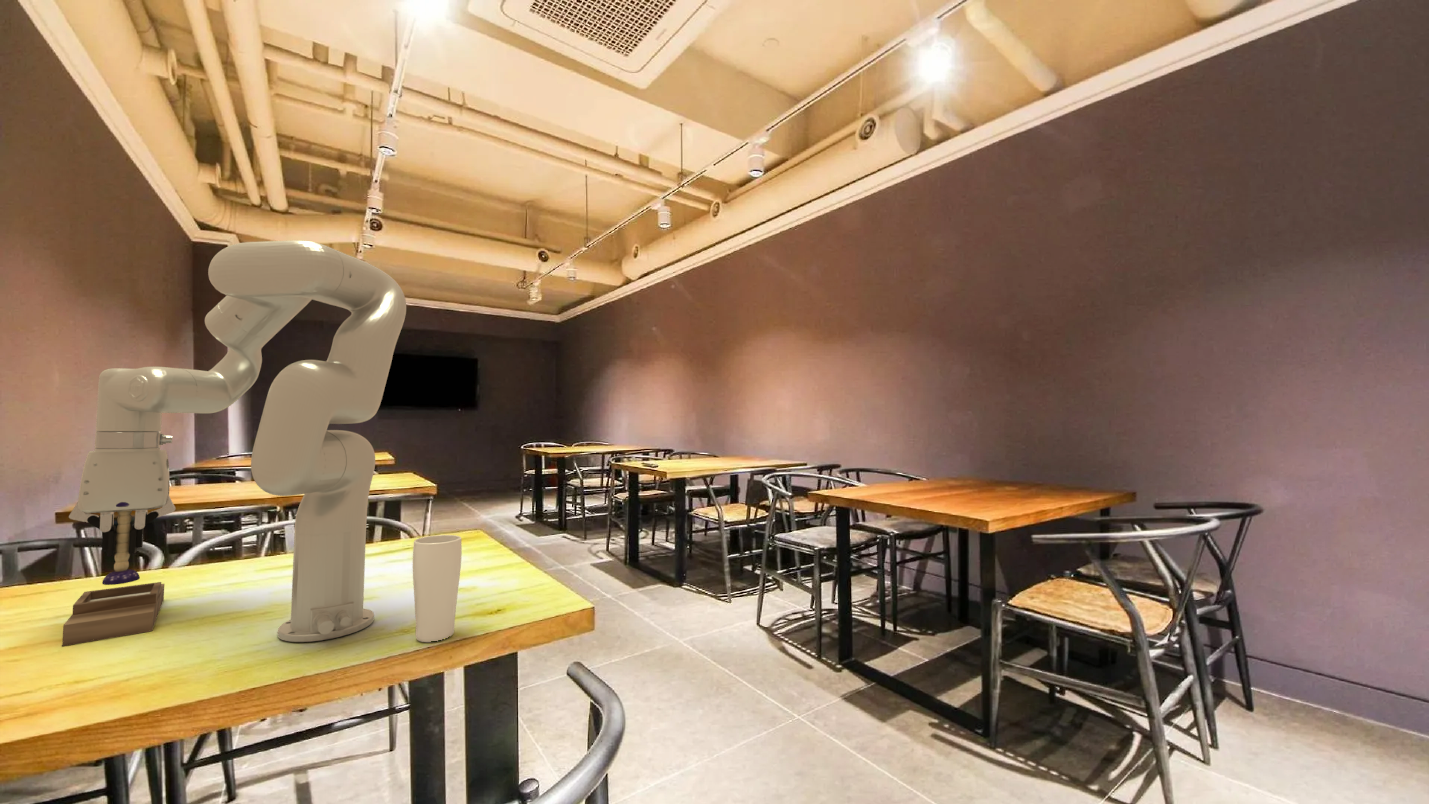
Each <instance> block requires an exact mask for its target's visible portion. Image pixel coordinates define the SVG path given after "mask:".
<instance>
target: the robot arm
mask: <svg viewBox="0 0 1429 804" xmlns="http://www.w3.org/2000/svg"><path fill="white" fill-rule="evenodd" d="M207 271H208V272H207V273H208V274H207V275H208V279H209V281H210V283H211V285H212V286H213V287H214V289H215V290H216V291H218V292H219V293H220V294H223V295H225V297H223V298H222V299H221V300H220V301H219V302H218V303H217V304H216V305H215V306H214V307H213V308H212V309H211V310H209V312H207V314H206V315H205V317H204V324H205V325H204V326H205V327H206V329H207V330H208V331H209V333H210V334H211V335H212V337H214V338H215V339H216V340H217V341H218V342H220V343H221V344H223V345H224V346H225V347H227V348H228V350H227V353H226V354H225V355H224V357H223V358H222V359H221V360H220V361H219V362H217V363H216V364H215V365H214V366H213V367H212V368H211V369H209V370H208V371H207V370H199V369H192V368H191V369H190V368H180V367H167V366H166V367H165V366H143V367H139V368H129V367H128V368H124V367H120V368H119V367H117V368H114V367H112V368H108V369H105V370H102V372H100V374H99V377H98V384H97V385H98V386H97V387H98V389H97V402H96V404H97V405H96V418H95V419H96V420H95V432H94V433H95V434H94V435H95V436H94V450H92V451H91V450H90V451H88V453H87V455H86V458H85V461H84V464H83V468H82V473H81V478H80V483H79V484H80V485H79V489H78V499H77V503H76V504H75V506H74V507H73V509H72V510H71V512H70V513H69V515H68V518H69V519H70V520H73V521H78V522H83V523H85V522H86V523H88V524H90V525H92V526H93V527H95V528H97V529H98V530H99V531H100V532H102V544H101V551H102V552H107V553H106V557H113V556H115V554H116V551H115V546H116V544H117V542H116V536H117V534H118V533H117V530H116V528H117V525H114V523H115V522H114V520H115V519H114V518H115V513H117V512H121V511H132V512H133V511H135V514H134V515H135V516H134V524H132V525H131V530H130V536H129V554H130V555H135V554H136V553H137V552H138V549H139V548H143V543H144V528H145V527H147V525H149V524H150V523H152V522H153V521H154V520H155V519H157V518H160V517H162V516H166V515H169V514H171V513H174V512H175V511H176V506H175V504H174V502H173V500H172V498H171V496H170V463H169V455H168V452H167V449H161V446H164V445H167V444H173V435H167V434H164V433H162V421H163V420H162V418H163V413H165V414H178V413H180V414H213V413H218V412H221V411H223V410H225V409H227V408H229V407H231V406H232V405H233V404H234V403H236V402H237V401H238V400H239V399H240V398H241V397H242V396H244V394H246V392H247V391H249V389H251V388H252V386H253V385H254V384H255V383H256V381H257V380H258V378H259V375H260V371H261V369H262V363H263V357H262V355H263V354H262V349H263V347H264V346H265V345H266V344H267V343H268V342H269V341H270V340H271V339H273V338H274V337H275V336H276V334H278V333H279V332H280V331H281V330H282V329H283V328H284V327H285V326H286V325H287V324H288V323H290V322H291V320H293V319H294V317H295V316H297V315H298V314H299V313H300V312H301V311H302V310H304V308H305V307H306V306H307V305H308V304H309V303H310V302H311V301H312V300H313V301H317V302H320V303H323V304H327V305H330V306H334V307H335V306H336V307H338V308H343V309H345V310H348V311H349V312H350V313H351V314H350V315H349V316H348V317H347V318H346V319H345V320H344V321H343V322H342V323H341V324H340V326H339V327H338V329H337V330H336V332H335V334H334V336H333V339H332V344H331V347H330V351H329V354H328V357H327V360H318V359H305V360H303V359H302V360H298V361H295V362H293V363H290V364H288V365H287V366H286V367H284V368H283V369H282V370H281V371H279V373H278V374H277V375H276V376H275V378H274V379H273V381H272V382H271V384H270V387H269V389H268V392H267V396H266V399H265V403H264V406H263V410H262V414H261V418H260V420H259V421H260V422H259V425H258V429H257V432H256V436H255V440H254V444H253V448H252V453H251V457H250V459H251V460H250V470H251V471H250V472H251V475H252V478H253V480H254V482H255V484H256V486H258V488H260V490H262V491H263V492H266V493H267V494H269V495H274V496H280V497H290V496H299V495H303V496H302V498H301V501H300V502H299V506H298V508H297V511H296V514H295V518H294V519H295V520H294V536H293V558H292V559H293V561H292V579H291V580H292V581H291V583H292V584H291V585H292V586H291V587H292V588H291V606H290V607H291V608H290V609H291V610H290V619H288V620H286V621H284V622H283V623H282V624H281V625H279V626H278V628H277V637H278V638H279V640H282V641H286V642H291V643H309V642H319V641H325V640H332V639H336V638H340V637H344V636H348V635H351V634H354V633H356V632H359V631H362V630H364V629H365V628H368V627H369V626H370V625H372V624H373V622H374V619H375V614H374V612H373V610H371V609H368V608H364V597H365V596H364V595H365V594H364V593H365V569H366V566H365V565H366V543H367V542H366V540H367V539H366V538H367V523H368V521H367V519H368V518H367V517H368V503H369V496H370V489H371V485H372V481H373V476H374V474H375V473H374V472H375V467H376V453H375V450H374V447H373V445H372V443H370V441H369V440H368V439H367V438H366V437H364V436H362V435H361V434H359V433H357V432H355V431H349V430H344V429H343V430H341V429H340V430H339V429H328V427H329V425H330V424H331V425H332V424H333V425H334V424H335V425H342V424H343V425H344V424H345V425H346V424H360V423H361V424H362V423H364V422H367V421H369V420H371V419H372V418H373V417H374V416H375V415H376V414H377V412H378V410H379V408H380V406H381V404H382V403H381V402H382V400H383V396H384V392H385V387H386V384H387V380H388V377H389V372H390V369H391V366H392V360H393V357H394V356H393V355H394V352H395V349H396V345H397V342H398V340H399V336H400V333H401V330H402V329H403V326H404V324H405V323H404V322H405V320H406V319H405V318H406V316H407V315H406V314H407V302H406V296H405V293H404V291H403V289H402V287H401V286H400V285H399V284H398V282H397V281H396V279H394V278H393V277H391V275H389V274H388V273H386V272H385V271H384V270H382V269H381V268H379V267H377V266H375V265H373V264H371V263H368V261H365V260H362V259H359V258H357V257H355V256H352V255H349V254H347V253H345V252H343V251H340V250H337V249H335V248H333V247H330V246H328V245H325V244H322V243H319V242H316V241H312V240H298V239H297V240H296V239H294V240H293V239H292V240H275V241H273V240H272V241H268V240H266V241H246V242H240V243H234V244H231V245H229V246H227V247H224V248H223V249H221V250H219V251H218V252H217V253H216V254H215V255H214V256H213V258H212V259H211V261H210V263H209V266H208V270H207ZM120 502H126V503H128V504H129V506H126V507H116V505H117V504H118V503H120ZM148 510H152V511H150V512H149V513H148ZM98 514H100V515H98Z"/></svg>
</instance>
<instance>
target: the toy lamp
mask: <svg viewBox="0 0 1429 804" xmlns="http://www.w3.org/2000/svg"><path fill="white" fill-rule="evenodd" d="M126 506H129V504H128V503H126V502H120V503H118V504H117V505H116V507H126ZM132 512H133V511H121V512H116V513H117V518H116V522H117V525H116V528H115V529H116V530H117V533H118V534H117V536H116V542H117V544H116V546H115V551H116V553H115V554H114V561H115V562H114V564H113V570H114V571H112V572H109V573H108V574H107V575H105V576H104V578H103V579H102V585H105V586H114V585H122V584H123V585H124V584H128V583H132V582H136V581H138V580H140V574H139V572H137V571H136V570H134V569H131V568H130V569H129V567H130V562H129V559H130V556H131V554H129V536H130V530H131V529H132V525H131V522H132V519H133V517H132V515H131V514H132Z"/></svg>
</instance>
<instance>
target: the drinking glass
mask: <svg viewBox="0 0 1429 804" xmlns="http://www.w3.org/2000/svg"><path fill="white" fill-rule="evenodd" d="M412 548H413V549H412V582H413V583H412V584H413V597H414V615H415V616H414V618H415V638H416V640H417V641H419V642H421V643H432V642H431V641H437V642H439V641H438V640H441V641H443V640H442V639H444V638H447V639H449V638H450V637H452V636H453V635H454V633H455V627H456V625H455V622H456V621H455V619H456V613H457V600H458V593H459V585H460V578H461V567H462V555H463V553H462V537H461V536H460V535H456V534H455V535H454V534H439V535H438V534H437V535H436V534H435V535H428V536H423V537H419V538H417V539H414V541H413V547H412ZM449 636H450V637H449ZM448 637H449V638H448ZM444 640H445V639H444Z"/></svg>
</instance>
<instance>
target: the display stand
mask: <svg viewBox="0 0 1429 804" xmlns="http://www.w3.org/2000/svg"><path fill="white" fill-rule="evenodd" d="M164 598H165V583H162V582H161V581H158V582H151V583H141V584H135V585H127V586H120V587H113V588H104V589H103V588H102V589H96V590H90V591H88V590H86V591H84V592H83V593H82V594H81V596H79V597H78V598H77V600H76V601H75V602H74V604H73V605H72V614H71V615H70V616H69V618H68V619H67V620H66V621H65V623H64V624H63V625H62V641H61V647H65V646H66V647H67V646H71V645H77V644H84V643H88V642H95V641H101V640H108V639H113V638H120V637H126V636H130V635H135V634H143V633H147V632H148V633H149V632H153V629H154V627H155V624H156V622H157V619H158V616H159V613H160V611H161V608H162V605H163V604H164V600H165V599H164Z"/></svg>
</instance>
